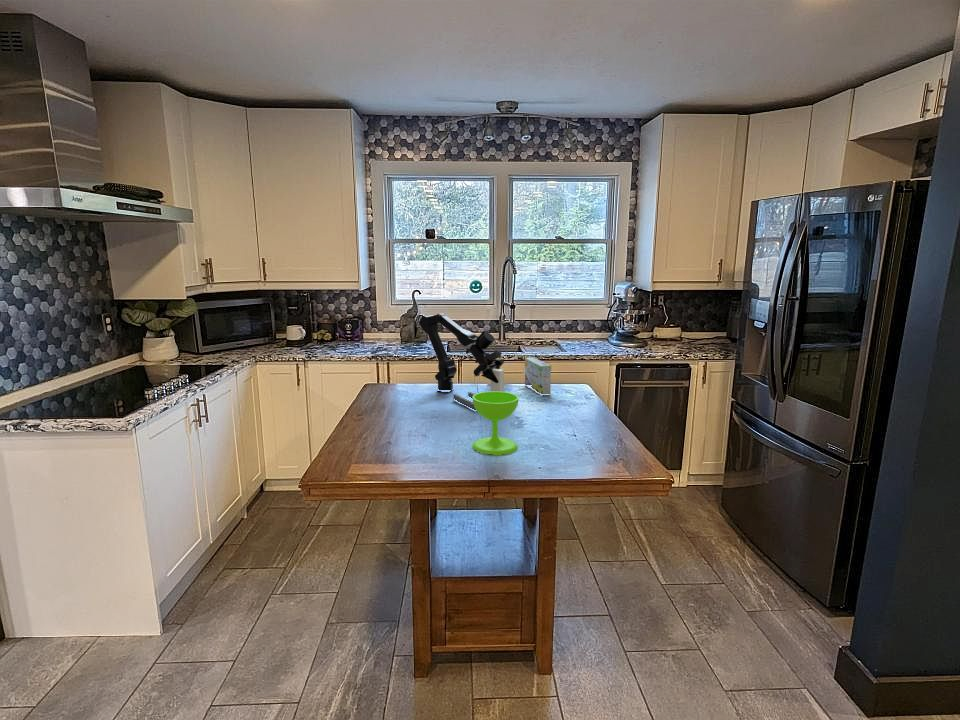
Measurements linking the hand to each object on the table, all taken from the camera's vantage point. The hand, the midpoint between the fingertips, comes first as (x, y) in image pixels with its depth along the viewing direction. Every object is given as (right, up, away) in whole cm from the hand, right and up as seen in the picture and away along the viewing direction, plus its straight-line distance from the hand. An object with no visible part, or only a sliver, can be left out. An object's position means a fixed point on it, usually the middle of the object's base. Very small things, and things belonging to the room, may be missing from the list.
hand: (499, 381), depth 239 cm
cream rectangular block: (-1, -6, +2) cm, 7 cm away
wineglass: (-4, -21, -56) cm, 60 cm away
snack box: (+19, -6, +21) cm, 29 cm away
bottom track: (-12, -10, -4) cm, 17 cm away
